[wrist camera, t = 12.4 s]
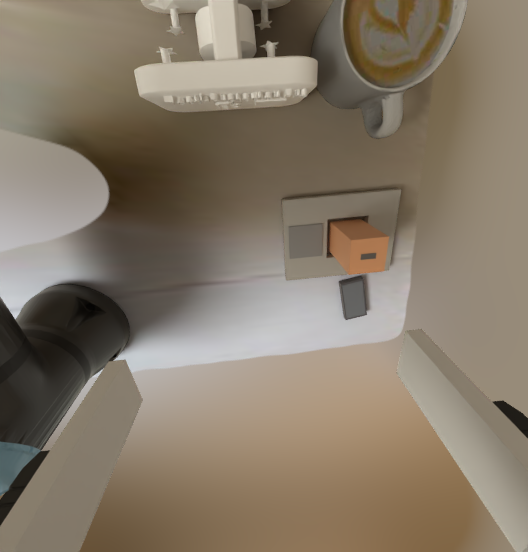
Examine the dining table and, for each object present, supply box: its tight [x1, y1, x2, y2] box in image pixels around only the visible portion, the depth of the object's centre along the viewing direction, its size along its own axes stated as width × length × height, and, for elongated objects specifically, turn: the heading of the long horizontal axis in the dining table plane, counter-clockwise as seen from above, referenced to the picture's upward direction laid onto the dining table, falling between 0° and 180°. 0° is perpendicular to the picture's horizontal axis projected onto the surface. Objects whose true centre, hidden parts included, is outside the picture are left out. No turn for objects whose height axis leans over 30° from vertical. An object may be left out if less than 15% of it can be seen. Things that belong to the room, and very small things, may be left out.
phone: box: [339, 276, 367, 320], centre depth 42 cm, size 4×7×1 cm, turn 15°
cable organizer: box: [134, 0, 318, 112], centre depth 23 cm, size 15×11×12 cm
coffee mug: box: [311, 0, 468, 139], centre depth 25 cm, size 13×10×10 cm
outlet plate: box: [282, 188, 401, 280], centre depth 37 cm, size 16×12×1 cm
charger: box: [329, 219, 389, 275], centre depth 34 cm, size 4×4×9 cm
